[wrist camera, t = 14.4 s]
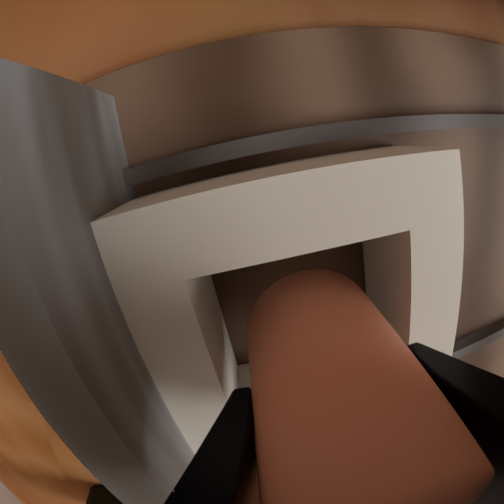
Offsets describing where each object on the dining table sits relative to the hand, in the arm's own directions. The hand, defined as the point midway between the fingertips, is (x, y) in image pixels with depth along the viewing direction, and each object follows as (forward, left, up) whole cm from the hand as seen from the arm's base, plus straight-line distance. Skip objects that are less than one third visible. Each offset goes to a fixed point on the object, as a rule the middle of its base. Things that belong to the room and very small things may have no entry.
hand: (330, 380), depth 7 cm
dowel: (0, 0, -2) cm, 2 cm away
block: (0, 0, -6) cm, 6 cm away
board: (-4, +1, -7) cm, 8 cm away
